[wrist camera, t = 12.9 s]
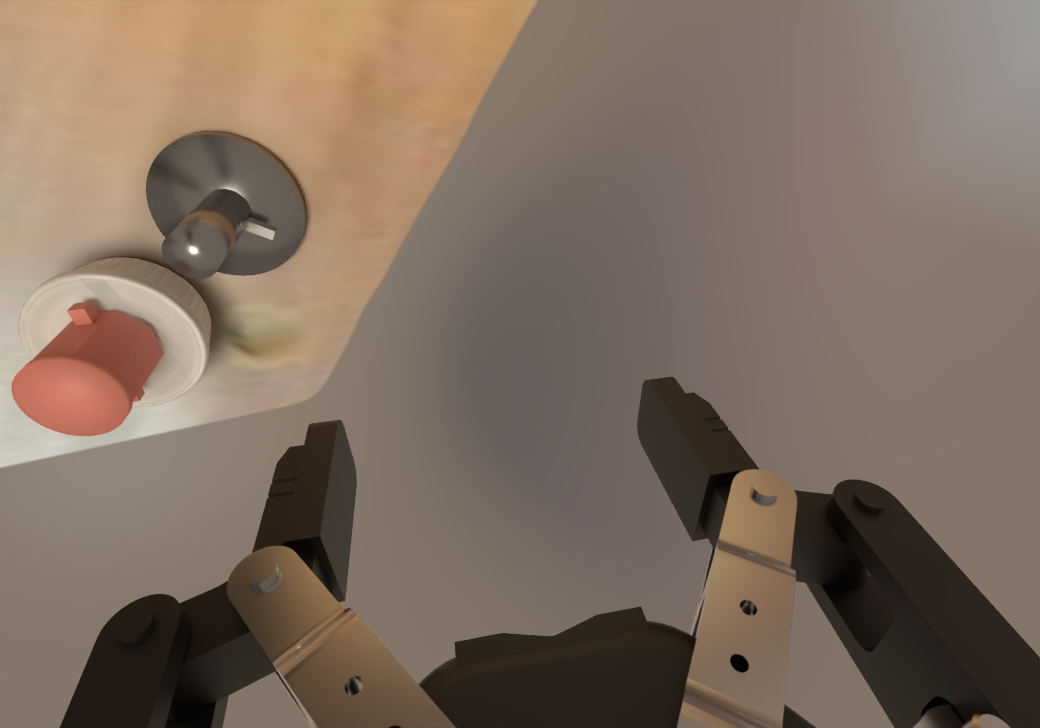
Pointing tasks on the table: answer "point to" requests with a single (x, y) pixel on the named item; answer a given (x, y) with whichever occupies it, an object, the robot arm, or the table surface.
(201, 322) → the ramekin
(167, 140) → the table surface
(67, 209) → the table surface
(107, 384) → the cap
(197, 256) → the grey lamp
